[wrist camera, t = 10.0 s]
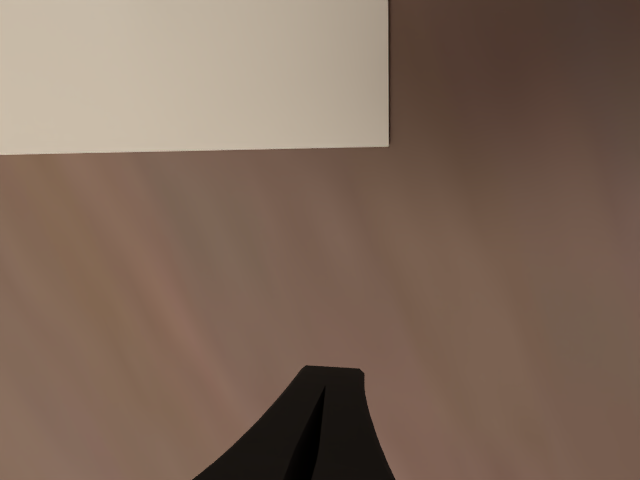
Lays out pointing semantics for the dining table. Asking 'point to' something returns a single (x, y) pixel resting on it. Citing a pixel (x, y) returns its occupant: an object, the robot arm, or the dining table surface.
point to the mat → (192, 75)
